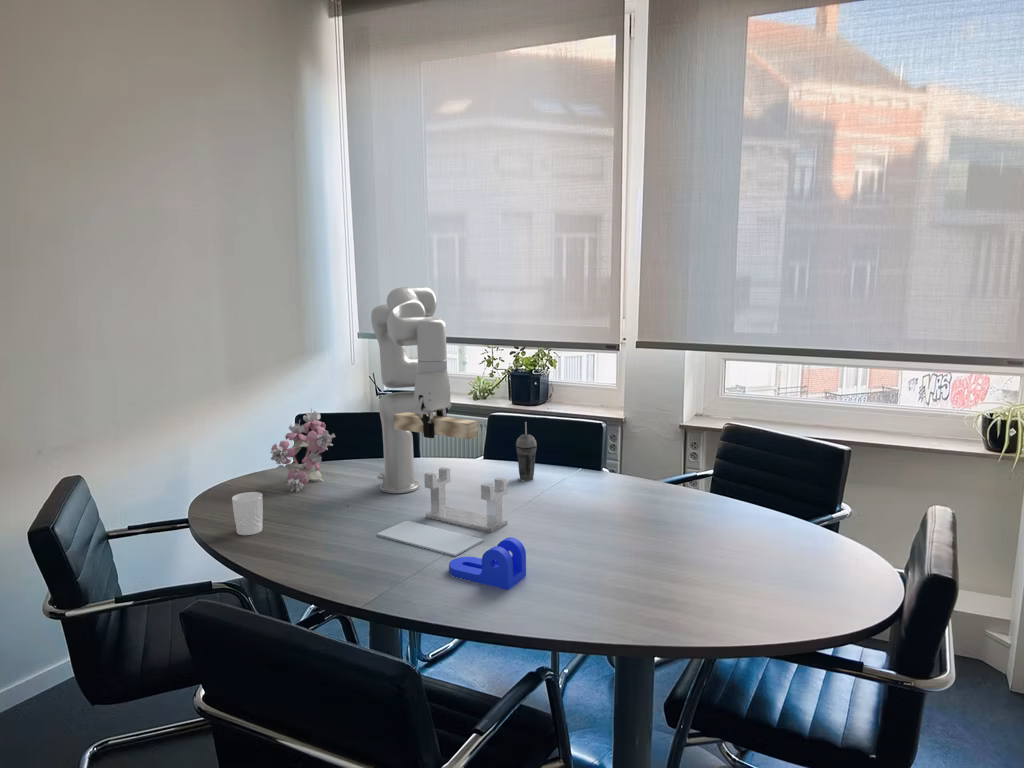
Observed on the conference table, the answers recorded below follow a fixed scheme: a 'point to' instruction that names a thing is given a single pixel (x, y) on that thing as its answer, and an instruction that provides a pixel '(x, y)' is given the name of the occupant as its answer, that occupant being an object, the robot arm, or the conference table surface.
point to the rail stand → (461, 516)
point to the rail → (437, 425)
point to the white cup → (248, 513)
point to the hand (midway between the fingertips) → (434, 435)
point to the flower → (312, 444)
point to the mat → (430, 538)
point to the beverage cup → (526, 455)
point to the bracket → (494, 565)
